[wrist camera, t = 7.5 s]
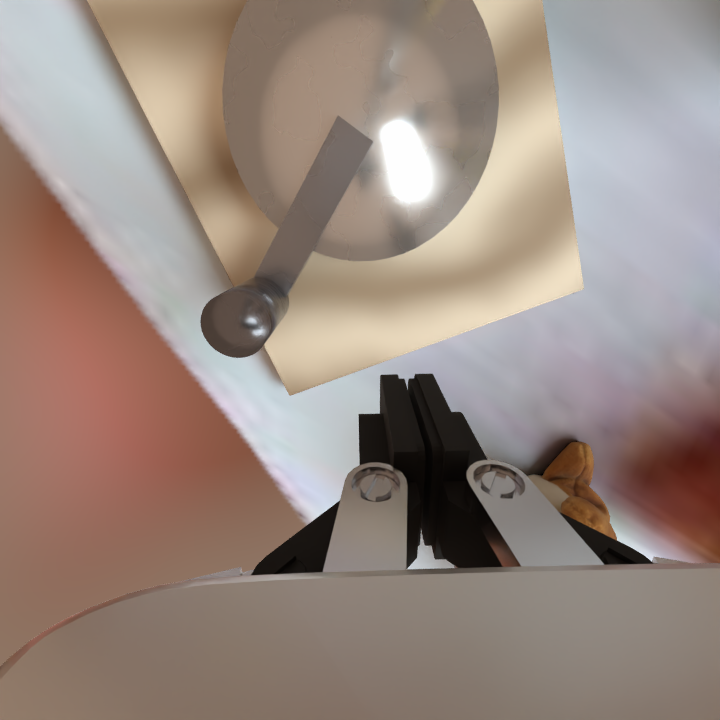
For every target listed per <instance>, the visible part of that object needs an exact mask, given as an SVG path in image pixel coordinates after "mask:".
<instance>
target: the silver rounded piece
mask: <svg viewBox="0 0 720 720" xmlns="http://www.w3.org/2000/svg"><path fill="white" fill-rule="evenodd" d="M222 98H223V116H224V123H225V131H226V136H227V140H228V144H229V148H230V152H231V155H232V157H233V160H234V163H235V165H236V168H237V171H238V173H239V175H240V177H241V179H242V181H243V183H244V185H245V187H246V189H247V191H248V192H249V194H250V195H251V197H252V198H253V200H254V201H255V203H256V204H257V206H258V207H259V208H260V209H261V211H262V212H263V213H264V214H265V215H266V217H267V218H268V219H269V220H270V221H271V222H272V223H273V224H274V225H275V226H276V227H277V228H279V230H278V231H277V233H276V235H275V237H274V239H273V241H272V243H271V245H270V247H269V249H268V251H267V253H266V255H265V256H264V258H263V260H262V262H261V264H260V266H259V268H258V270H257V272H256V274H255V276H254V277H253V278H250V279H249V280H247V281H245V282H243V283H241V284H239V285H237V286H235V287H233V288H231V289H230V290H228V291H226V292H224V293H222V294H220V295H218V296H216V297H214V298H213V299H211V300H210V301H209V302H208V303H207V304H206V306H205V307H204V309H203V312H202V315H201V328H202V332H203V335H204V337H205V339H206V340H207V342H208V343H209V344H210V345H211V346H212V347H213V348H214V349H215V350H217V351H218V352H220V353H222V354H224V355H226V356H230V357H236V358H242V357H247V356H250V355H253V354H254V353H256V352H257V351H259V350H260V349H261V348H262V347H263V345H264V344H265V342H266V341H267V340H268V338H269V337H270V336H271V334H272V333H273V331H274V330H275V329H276V327H277V326H278V325H279V323H280V322H281V321H282V319H283V318H284V316H285V315H286V313H287V311H288V308H289V297H288V295H289V293H290V292H291V290H292V288H293V286H294V284H295V283H296V281H297V279H298V277H299V276H300V274H301V272H302V270H303V269H304V267H305V265H306V263H307V261H308V260H309V258H310V256H311V254H312V253H313V251H314V252H317V253H319V254H322V255H324V256H328V257H332V258H336V259H340V260H348V261H375V260H381V259H388V258H391V257H394V256H397V255H401V254H404V253H406V252H408V251H410V250H413V249H415V248H417V247H419V246H420V245H422V244H424V243H425V242H427V241H428V240H430V239H432V238H433V237H434V236H435V235H437V234H438V233H439V232H440V231H442V230H443V229H444V228H445V227H446V226H447V225H448V224H449V223H450V222H451V221H452V220H453V219H454V218H455V217H456V216H457V215H458V214H459V212H460V211H461V210H462V208H463V207H464V206H465V204H466V203H467V202H468V200H469V199H470V197H471V195H472V194H473V192H474V190H475V189H476V187H477V185H478V183H479V181H480V179H481V177H482V175H483V172H484V170H485V168H486V165H487V162H488V159H489V156H490V153H491V150H492V147H493V142H494V138H495V133H496V128H497V119H498V109H499V84H498V75H497V67H496V61H495V56H494V52H493V48H492V44H491V40H490V37H489V35H488V32H487V29H486V27H485V24H484V21H483V19H482V17H481V15H480V13H479V11H478V9H477V7H476V5H475V3H474V1H473V0H248V1H247V2H246V4H245V6H244V8H243V10H242V12H241V14H240V16H239V18H238V20H237V23H236V25H235V28H234V31H233V34H232V37H231V40H230V43H229V46H228V51H227V56H226V61H225V66H224V75H223V87H222Z"/></svg>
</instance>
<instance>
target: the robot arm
mask: <svg viewBox="0 0 720 720" xmlns="http://www.w3.org/2000/svg"><path fill="white" fill-rule="evenodd" d="M359 452H360V466H358V467H356V468H354V469H353V470H352V471H351V472H350V473H349V474H348V475H347V478H346V480H345V483H344V487H343V491H342V495H341V499H340V501H339V502H337V503H336V504H335V505H333V506H332V507H331V508H329V509H328V510H327V511H325V512H324V513H323V514H321V515H320V516H319V517H318V518H316V519H315V520H314V521H312V522H311V523H310V524H308V525H307V526H306V527H304V528H303V529H302V530H300V531H299V532H298V533H296V534H295V535H294V536H292V537H291V538H290V539H289V540H287V541H286V542H285V543H283V544H282V545H281V546H279V547H278V548H277V549H275V550H274V551H273V552H272V553H270V554H269V555H267V556H266V557H265V558H264V559H263V560H262V561H261V562H260V563H259V564H258V565H257V566H256V568H255V569H254V570H251V571H247V572H243V573H242V570H241V567H239V568H235V569H231V570H227V571H222V572H218V573H214V574H210V575H206V576H202V577H198V578H193V579H189V580H185V581H181V582H177V583H170V584H164V585H159V586H155V587H151V588H147V589H143V590H140V591H135V592H132V593H128V594H125V595H122V596H119V597H117V598H114V599H111V600H109V601H106V602H103V603H100V604H98V605H95V606H92V607H90V608H87V609H85V610H83V611H81V612H79V613H77V614H75V615H73V616H70V617H68V618H66V619H64V620H63V621H61V622H59V623H57V624H55V625H53V626H51V627H50V628H48V629H46V630H45V631H44V632H42V633H41V634H39V635H38V636H36V637H35V638H33V639H32V640H30V641H29V642H28V643H26V644H25V645H24V646H23V647H21V648H20V649H19V650H18V651H17V652H16V653H14V654H13V655H12V656H10V658H8V659H7V660H6V661H5V662H4V663H3V664H2V665H1V666H0V720H720V563H688V562H682V561H677V560H671V559H665V558H659V557H654V558H653V560H652V562H651V561H650V560H649V559H648V558H646V557H645V556H644V555H642V554H641V553H639V552H637V551H636V550H634V549H632V548H631V547H629V546H627V545H625V544H623V543H621V542H619V541H617V540H615V539H613V538H611V537H609V536H607V535H605V534H603V533H601V532H599V531H597V530H595V529H593V528H591V527H589V526H587V525H585V524H583V523H581V522H579V521H577V520H575V519H573V518H571V517H569V516H567V515H565V514H563V513H561V512H559V511H557V510H556V508H555V507H554V506H553V505H552V504H551V503H550V502H549V500H548V499H547V498H546V497H545V496H544V495H543V494H542V492H541V491H540V490H539V489H538V488H537V487H536V486H535V484H534V483H533V482H532V481H531V480H530V479H529V478H528V476H526V475H525V474H524V473H523V472H522V471H521V470H519V469H518V468H516V467H514V466H513V465H510V464H508V463H505V462H502V461H496V460H487V458H486V456H485V454H484V453H483V451H482V449H481V447H480V445H479V443H478V441H477V440H476V438H475V436H474V434H473V432H472V430H471V428H470V427H469V425H468V423H467V421H466V419H465V417H464V415H463V414H462V413H461V412H451V411H450V408H449V406H448V404H447V402H446V400H445V398H444V396H443V394H442V392H441V390H440V388H439V386H438V384H437V382H436V380H435V378H434V376H433V374H415V376H414V379H409V380H408V390H407V386H406V383H405V380H404V379H399V378H398V375H381V376H380V414H359ZM421 530H422V535H423V540H424V544H425V545H426V546H429V545H432V549H433V553H434V558H435V559H446V560H448V561H449V562H451V563H452V564H453V565H455V566H454V568H447V569H411V570H406V569H407V568H408V567H409V566H410V565H411V564H412V563H413V561H414V560H415V559H416V558H417V549H418V546H419V545H420V534H421Z"/></svg>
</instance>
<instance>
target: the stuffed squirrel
mask: <svg viewBox="0 0 720 720" xmlns="http://www.w3.org/2000/svg"><path fill="white" fill-rule="evenodd" d="M593 467H594V460H593V454H592V451H591V448H590V446H589V445H588V444H586V443H583V442H572V443H570V444H569V445H568V446H567V447H566V448H565V449H564V450H563V451H562V452H561V453H560V454H559V455H558V456H557V457H556V458H555V460H554V461H553V462H552V463H551V464H550V465H549V466H548V468H547V469H546V470H545V472H544V474H543V476H540V475H529V476H528V478H529V479H530V480H531V481H532V482H533V483H534V484H535V486H536V487H537V488H538V489H539V490H540V491H541V492H542V494H543V495H544V496H545V497H546V498H547V499H548V500H549V502H550V503H551V504H552V505H553V506H554V507H555V508H556V510H557V511H559V512H561V513H563V514H565V515H567V516H569V517H571V518H573V519H575V520H577V521H579V522H581V523H583V524H585V525H587V526H589V527H591V528H593V529H595V530H597V531H599V532H601V533H603V534H605V535H607V536H609V537H611V538H613V539H615V540H617V538H616V534H615V532H614V530H613V528H612V526H611V524H610V523H609V522H610V515H609V512H608V510H607V507H606V506H605V504H604V502H603V501H602V499H601V498H600V497H599V496H598V495H597V494H596V493H595V492H594V491H593V490H592V489H591V488H590V487H589V485H590V482H591V479H592V474H593Z"/></svg>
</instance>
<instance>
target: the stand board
mask: <svg viewBox="0 0 720 720" xmlns="http://www.w3.org/2000/svg"><path fill="white" fill-rule="evenodd" d="M247 1H248V0H87V2H88V4H89V6H90V8H91V9H92V11H93V13H94V15H95V17H96V19H97V21H98V23H99V25H100V27H101V29H102V31H103V33H104V35H105V37H106V39H107V41H108V43H109V45H110V47H111V48H112V50H113V52H114V54H115V56H116V58H117V60H118V62H119V64H120V66H121V68H122V70H123V72H124V74H125V76H126V78H127V80H128V82H129V84H130V86H131V87H132V89H133V91H134V93H135V95H136V97H137V99H138V101H139V103H140V105H141V107H142V109H143V111H144V113H145V115H146V117H147V119H148V121H149V123H150V124H151V126H152V128H153V130H154V132H155V134H156V136H157V138H158V140H159V142H160V144H161V146H162V148H163V150H164V152H165V154H166V156H167V158H168V160H169V162H170V163H171V165H172V167H173V169H174V171H175V173H176V175H177V177H178V179H179V181H180V183H181V185H182V187H183V189H184V191H185V193H186V195H187V197H188V199H189V201H190V202H191V204H192V206H193V208H194V210H195V212H196V214H197V216H198V218H199V220H200V222H201V224H202V226H203V228H204V230H205V232H206V234H207V236H208V238H209V240H210V241H211V243H212V245H213V247H214V249H215V251H216V253H217V255H218V257H219V259H220V261H221V263H222V265H223V267H224V269H225V271H226V273H227V275H228V277H229V278H230V280H231V282H232V284H233V286H234V287H235V286H237V285H239V284H241V283H243V282H245V281H247V280H249V279H250V278H253V277H254V276H255V274H256V272H257V270H258V268H259V266H260V264H261V262H262V260H263V258H264V256H265V255H266V253H267V251H268V249H269V247H270V245H271V243H272V241H273V239H274V237H275V235H276V233H277V231H278V230H279V228H277V227H276V226H275V225H274V224H273V223H272V222H271V221H270V220H269V219H268V218H267V217H266V215H265V214H264V213H263V212H262V211H261V209H260V208H259V207H258V206H257V204H256V203H255V201H254V200H253V198H252V197H251V195H250V194H249V192H248V191H247V189H246V187H245V185H244V183H243V181H242V179H241V177H240V175H239V173H238V171H237V168H236V165H235V163H234V160H233V157H232V155H231V152H230V148H229V144H228V140H227V136H226V131H225V123H224V116H223V98H222V87H223V75H224V66H225V61H226V56H227V51H228V46H229V43H230V40H231V37H232V34H233V31H234V28H235V25H236V23H237V20H238V18H239V16H240V14H241V12H242V10H243V8H244V6H245V4H246V2H247ZM473 1H474V3H475V5H476V7H477V9H478V11H479V13H480V15H481V17H482V19H483V21H484V24H485V27H486V29H487V32H488V35H489V37H490V40H491V44H492V48H493V52H494V56H495V61H496V67H497V75H498V84H499V109H498V119H497V128H496V133H495V138H494V142H493V147H492V150H491V153H490V156H489V159H488V162H487V165H486V168H485V170H484V172H483V175H482V177H481V179H480V181H479V183H478V185H477V187H476V189H475V190H474V192H473V194H472V195H471V197H470V199H469V200H468V202H467V203H466V204H465V206H464V207H463V208H462V210H461V211H460V212H459V214H458V215H457V216H456V217H455V218H454V219H453V220H452V221H451V222H450V223H449V224H448V225H447V226H446V227H445V228H444V229H443V230H442V231H440V232H439V233H438V234H437V235H435V236H434V237H433V238H432V239H430V240H428V241H427V242H425V243H424V244H422V245H420V246H419V247H417V248H415V249H413V250H410V251H408V252H406V253H404V254H401V255H397V256H394V257H391V258H388V259H381V260H375V261H348V260H340V259H336V258H332V257H328V256H324V255H322V254H319V253H317V252H314V251H313V253H312V254H311V256H310V258H309V260H308V261H307V263H306V265H305V267H304V269H303V270H302V272H301V274H300V276H299V277H298V279H297V281H296V283H295V284H294V286H293V288H292V290H291V292H290V293H289V295H288V297H289V308H288V311H287V313H286V315H285V316H284V318H283V319H282V321H281V322H280V323H279V325H278V326H277V327H276V329H275V330H274V331H273V333H272V334H271V336H270V337H269V338H268V340H267V341H266V342H265V344H264V347H265V349H266V351H267V353H268V355H269V356H270V358H271V360H272V362H273V364H274V366H275V368H276V370H277V372H278V374H279V376H280V378H281V380H282V382H283V384H284V386H285V388H286V390H287V392H288V393H289V395H293V394H296V393H299V392H301V391H304V390H307V389H310V388H312V387H315V386H318V385H321V384H324V383H326V382H329V381H332V380H335V379H337V378H340V377H343V376H346V375H348V374H351V373H354V372H357V371H359V370H362V369H365V368H368V367H370V366H373V365H376V364H379V363H381V362H384V361H387V360H390V359H392V358H395V357H398V356H401V355H403V354H406V353H409V352H412V351H414V350H417V349H420V348H423V347H425V346H428V345H431V344H434V343H437V342H439V341H442V340H445V339H448V338H450V337H453V336H456V335H459V334H461V333H464V332H467V331H470V330H472V329H475V328H478V327H481V326H483V325H486V324H489V323H492V322H494V321H497V320H500V319H503V318H505V317H508V316H511V315H514V314H516V313H519V312H522V311H525V310H527V309H530V308H533V307H536V306H538V305H541V304H544V303H547V302H549V301H552V300H555V299H558V298H561V297H563V296H566V295H569V294H572V293H574V292H577V291H580V290H583V289H584V286H583V279H582V272H581V266H580V259H579V252H578V245H577V238H576V231H575V224H574V217H573V210H572V204H571V197H570V190H569V183H568V176H567V169H566V162H565V155H564V148H563V141H562V135H561V128H560V121H559V114H558V107H557V100H556V93H555V86H554V79H553V72H552V66H551V59H550V52H549V45H548V38H547V31H546V24H545V17H544V10H543V3H542V0H473Z"/></svg>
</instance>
